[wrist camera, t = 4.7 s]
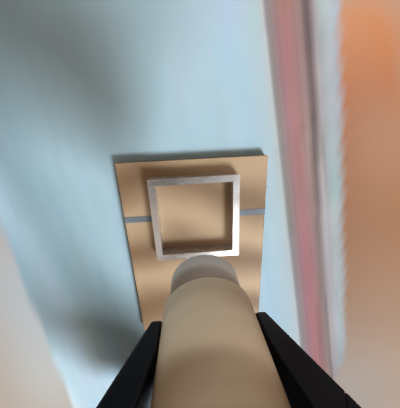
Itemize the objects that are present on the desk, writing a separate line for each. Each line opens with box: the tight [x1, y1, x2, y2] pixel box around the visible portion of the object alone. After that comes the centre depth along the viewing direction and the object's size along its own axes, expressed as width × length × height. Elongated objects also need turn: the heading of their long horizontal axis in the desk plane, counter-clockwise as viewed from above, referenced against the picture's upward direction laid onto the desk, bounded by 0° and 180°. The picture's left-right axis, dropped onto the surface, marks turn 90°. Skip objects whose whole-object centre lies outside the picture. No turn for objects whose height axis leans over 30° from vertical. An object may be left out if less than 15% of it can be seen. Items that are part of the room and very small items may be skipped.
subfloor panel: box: [115, 155, 268, 330], centre depth 21 cm, size 20×14×1 cm
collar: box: [147, 172, 240, 261], centre depth 19 cm, size 8×8×1 cm
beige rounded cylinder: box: [150, 255, 291, 408], centre depth 7 cm, size 4×4×8 cm
